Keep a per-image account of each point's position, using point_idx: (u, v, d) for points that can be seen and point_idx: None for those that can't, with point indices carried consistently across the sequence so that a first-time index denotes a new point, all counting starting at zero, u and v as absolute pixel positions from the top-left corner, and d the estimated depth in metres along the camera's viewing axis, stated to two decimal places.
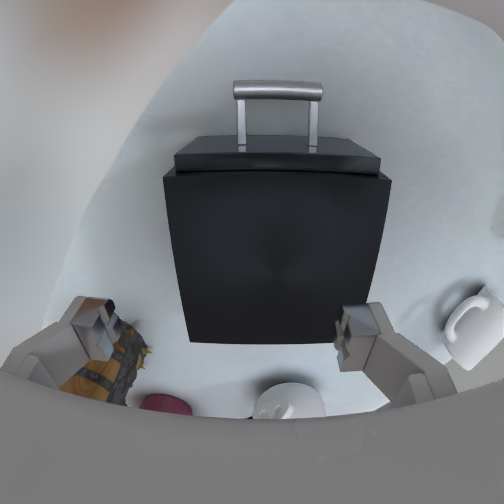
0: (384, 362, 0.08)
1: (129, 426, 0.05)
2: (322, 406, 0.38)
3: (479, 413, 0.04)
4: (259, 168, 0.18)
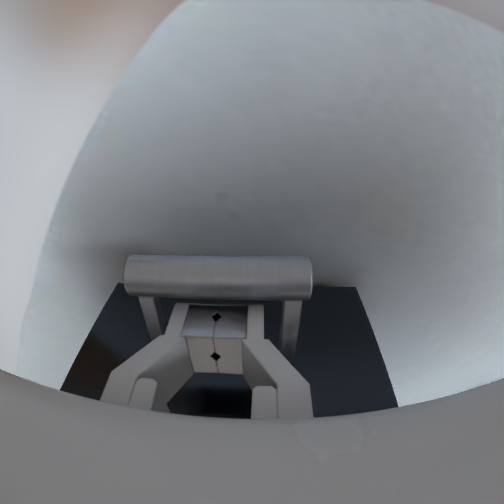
0: (251, 368, 0.08)
1: (129, 426, 0.05)
2: None
3: (479, 413, 0.04)
4: None
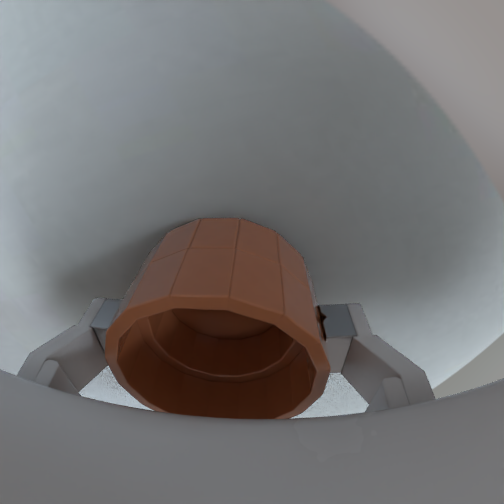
0: (361, 364, 0.08)
1: (129, 426, 0.05)
2: None
3: (479, 413, 0.04)
4: None
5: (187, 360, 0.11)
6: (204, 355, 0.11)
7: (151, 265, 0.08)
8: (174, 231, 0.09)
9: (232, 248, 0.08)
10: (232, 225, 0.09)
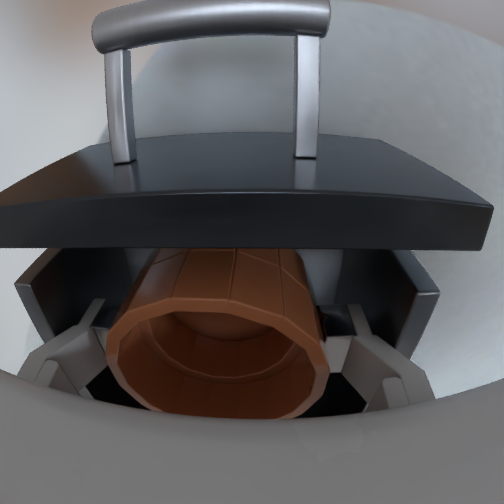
0: (361, 364, 0.08)
1: (129, 426, 0.05)
2: None
3: (479, 413, 0.04)
4: (129, 245, 0.06)
5: (187, 362, 0.11)
6: (204, 356, 0.11)
7: (151, 268, 0.08)
8: None
9: (232, 251, 0.08)
10: None
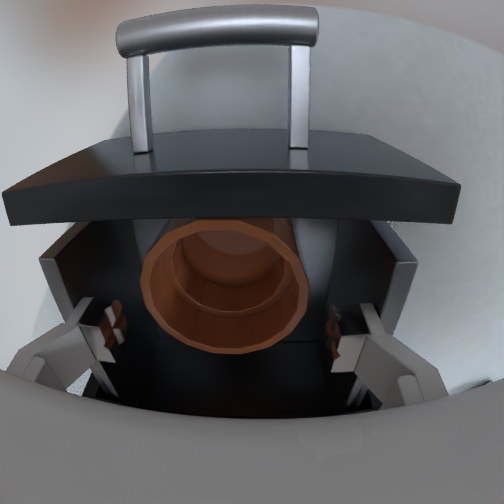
0: (374, 363, 0.08)
1: (129, 426, 0.05)
2: None
3: (479, 413, 0.04)
4: (153, 216, 0.07)
5: (199, 298, 0.14)
6: (212, 296, 0.15)
7: None
8: None
9: None
10: None
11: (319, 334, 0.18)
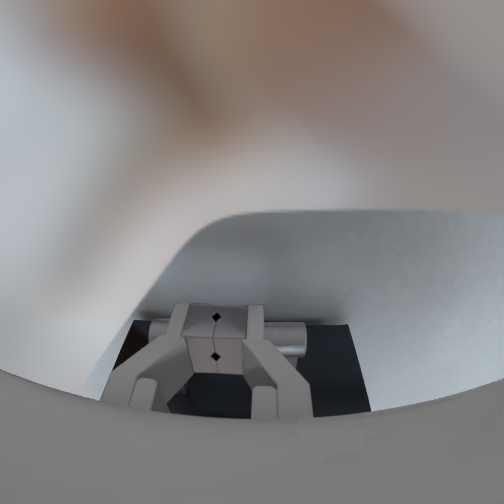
0: (251, 368, 0.08)
1: (129, 426, 0.05)
2: None
3: (479, 413, 0.04)
4: None
5: None
6: None
7: None
8: None
9: None
10: None
11: None
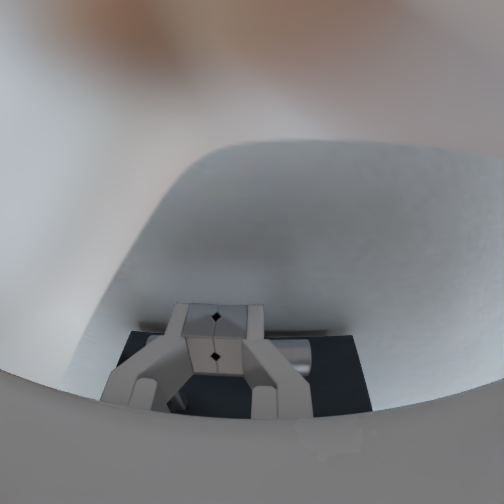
0: (251, 368, 0.08)
1: (129, 426, 0.05)
2: None
3: (479, 413, 0.04)
4: None
5: None
6: None
7: None
8: None
9: None
10: None
11: None
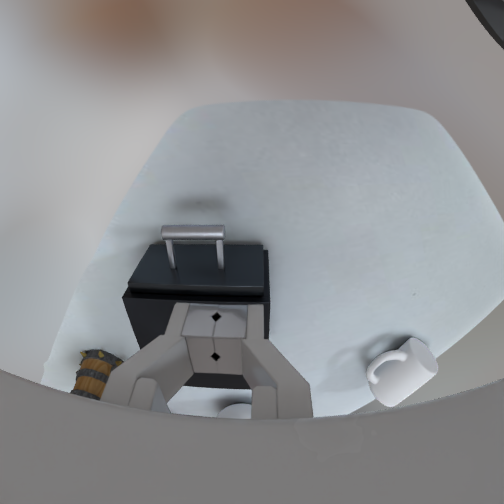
0: (251, 368, 0.08)
1: (129, 426, 0.05)
2: None
3: (479, 413, 0.04)
4: (180, 293, 0.28)
5: None
6: None
7: None
8: None
9: None
10: None
11: None
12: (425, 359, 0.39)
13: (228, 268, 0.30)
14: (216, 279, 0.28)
